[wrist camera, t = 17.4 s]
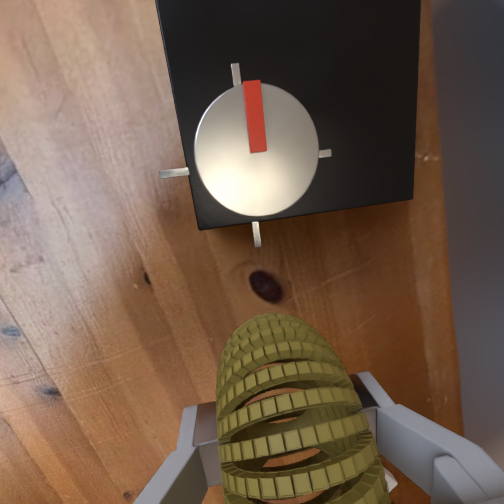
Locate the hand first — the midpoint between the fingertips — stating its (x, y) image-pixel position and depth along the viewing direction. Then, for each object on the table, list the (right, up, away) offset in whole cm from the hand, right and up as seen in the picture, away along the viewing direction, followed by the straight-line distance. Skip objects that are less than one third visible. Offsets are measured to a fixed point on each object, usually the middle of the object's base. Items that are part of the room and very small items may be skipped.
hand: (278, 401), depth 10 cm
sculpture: (0, +1, +3) cm, 3 cm away
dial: (-1, +10, +3) cm, 11 cm away
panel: (+1, +13, +6) cm, 14 cm away
